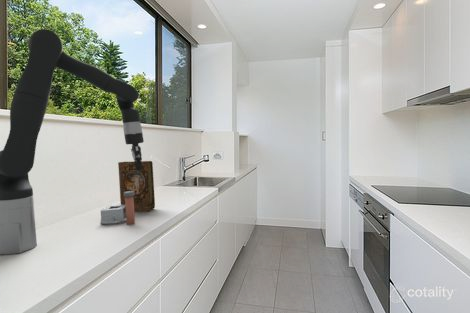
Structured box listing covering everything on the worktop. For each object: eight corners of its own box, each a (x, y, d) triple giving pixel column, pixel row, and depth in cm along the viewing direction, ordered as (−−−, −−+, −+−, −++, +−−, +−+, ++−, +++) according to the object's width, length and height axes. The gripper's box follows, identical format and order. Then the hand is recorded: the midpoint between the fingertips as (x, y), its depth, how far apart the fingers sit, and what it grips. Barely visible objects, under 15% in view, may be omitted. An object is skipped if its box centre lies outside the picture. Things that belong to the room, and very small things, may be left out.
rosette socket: (126, 223, 110) (125, 209, 110) (96, 225, 108) (95, 211, 108) (133, 215, 122) (132, 203, 122) (105, 217, 120) (105, 205, 120)
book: (119, 212, 130) (116, 162, 129) (125, 209, 135) (122, 161, 134) (150, 211, 128) (148, 161, 127) (155, 209, 134) (152, 160, 133)
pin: (134, 224, 108) (133, 192, 107) (124, 225, 107) (122, 193, 106) (137, 221, 112) (135, 190, 111) (126, 222, 111) (125, 191, 111)
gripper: (123, 134, 119) (129, 168, 121) (124, 133, 106) (131, 172, 108) (140, 132, 122) (145, 166, 124) (143, 131, 109) (149, 169, 111)
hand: (139, 168), depth 116 cm, fingers open, 8 cm apart
